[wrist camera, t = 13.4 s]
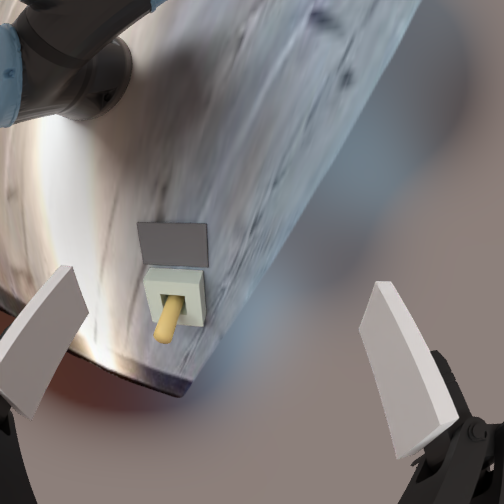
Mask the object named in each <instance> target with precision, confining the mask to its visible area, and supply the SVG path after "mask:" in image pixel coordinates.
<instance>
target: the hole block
mask: <svg viewBox="0 0 504 504" xmlns="http://www.w3.org/2000/svg"><path fill="white" fill-rule="evenodd" d="M143 282H144V287H145V291H146V296H147V300H148V304H149V308H150V312H151V316H152V320H153V322H157V323H158V321H159V319H160V316H161V313H162V311H163V308H164V306H165V303H166V301H167V298H168V296H169V295H180V296H185V301H184V302H183V305H182V308H181V311H180V314H179V318H178V321H177V325H188V326H200V327H203V326H204V321H205V316H206V303H205V291H204V278H203V270H185V269H167V268H151V267H150V269H149V270H148V272H147V274H146V276H145V277H144V279H143Z"/></svg>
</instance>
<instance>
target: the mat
mask: <svg viewBox="0 0 504 504" xmlns="http://www.w3.org/2000/svg"><path fill="white" fill-rule="evenodd" d="M137 228H138V234H139V240H140V246H141V252H142V258H143V263H144V264H157V265H175V266H194V267H208V251H207V228H206V224H199V223H154V222H137Z"/></svg>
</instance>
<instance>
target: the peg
mask: <svg viewBox="0 0 504 504" xmlns="http://www.w3.org/2000/svg"><path fill="white" fill-rule="evenodd" d="M184 299H185V296H180V295H169V296H168V298H167V301H166V303H165V306H164V308H163V311H162V313H161V316H160V319H159V321H158V324H157V326H156V329H155V332H154V335H153V336H154V338H155V340H157V341H158V342H160V343H163V344H168V343H170V342H171V340H172V337H173V334H174V330H175V327H176V324H177V321H178V318H179V314H180V311H181V308H182V305H183V302H184Z"/></svg>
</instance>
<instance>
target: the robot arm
mask: <svg viewBox="0 0 504 504" xmlns="http://www.w3.org/2000/svg"><path fill="white" fill-rule="evenodd" d="M19 1H21V2H23V3H25V4H27V5H28V6H27V7H26V8H25V9H24V10H23V12H22V13H21V14H20V15H19V16H18V18H17V19H16V20H15V21H14V23H13V24H9V23H4V24H2V25H0V128H1V127H4V128H7V127H10V126H12V125H13V124H17V123H20V122H24V121H27V120H31V119H36V118H40V117H44V116H49V115H54V114H58V115H60V116H63V117H66V118H69V119H72V120H87V119H92V118H96V117H98V116H101V115H103V114H104V113H106V112H107V111H109V110H110V109H111V108H112V107H113V106H114V105H115V104H116V103H117V102H118V101H119V99H120V98H121V97H122V95H123V93H124V92H125V90H126V88H127V85H128V83H129V80H130V76H131V70H132V59H131V54H130V51H129V48H128V46H127V45H126V43H125V42H124V41H123V40H122V39H121V38H119V37H118V36H119V35H120V34H121V33H122V32H124V31H125V30H126V29H127V28H129V27H130V26H131V25H133V24H134V23H135V22H137V21H138V20H140V19H141V18H142V17H144V16H145V15H147V14H148V13H152V12H154V11H155V10H156V7H158V6H159V5H161V4H162V3H164V2H165V1H167V0H19ZM88 314H89V311H88V309H87V306H86V304H85V301H84V298H83V296H82V293H81V290H80V288H79V285H78V282H77V279H76V276H75V273H74V270H73V267H72V266H60V267H59V268H58V269H57V270H56V271H55V272H54V273H53V275H52V276H51V277H50V278H49V279H48V280H47V281H46V282H45V284H44V285H43V286H42V287H41V288H40V289H39V291H38V292H37V293H36V294H35V295H34V297H33V298H32V299H31V300H30V302H29V303H28V304H27V305H26V307H25V308H24V309H23V310H22V312H21V313H20V314H19V315H18V317H17V318H16V319H15V321H14V322H13V323H12V324H10V325H9V326H8V327H7V328H6V329H5V330H4V331H3V333H2V334H1V336H0V504H37V501H36V499H35V496H34V494H33V491H32V488H31V485H30V482H29V479H28V476H27V473H26V470H25V466H24V463H23V459H22V455H21V452H20V447H19V443H18V438H17V433H16V429H15V423H14V417H13V414H12V412H11V411H10V408H11V406H12V407H13V408H14V409H15V410H16V411H17V412H18V413H19V414H20V415H22V416H23V417H25V418H27V419H29V420H31V421H32V418H33V416H34V414H35V412H36V409H37V407H38V405H39V403H40V401H41V399H42V397H43V394H44V392H45V390H46V388H47V386H48V384H49V382H50V380H51V378H52V376H53V375H54V373H55V371H56V369H57V367H58V365H59V363H60V361H61V359H62V358H63V356H64V354H65V352H66V350H67V349H68V347H69V345H70V343H71V342H72V340H73V338H74V337H75V335H76V333H77V332H78V330H79V328H80V327H81V325H82V323H83V322H84V320H85V318H86V317H87V315H88ZM359 332H360V335H361V338H362V341H363V344H364V346H365V350H366V353H367V355H368V359H369V362H370V365H371V368H372V371H373V374H374V377H375V381H376V384H377V387H378V390H379V394H380V397H381V401H382V404H383V408H384V411H385V415H386V418H387V422H388V426H389V430H390V434H391V438H392V441H393V446H394V450H395V454H396V458H397V459H401V458H404V457H408V456H411V455H414V454H416V453H417V452H419V451H420V450H421V449H423V448H424V451H425V454H424V455H422V456H421V457H419V458H418V459H416V460H415V461H414V462H413V463H412V464H411V466H414V465H416V464H417V463H419V464H418V466H417V467H416V471H415V472H414V475H413V476H412V478H411V481H410V482H409V484H408V486H407V488H406V490H405V492H404V494H403V495H402V497H401V499H400V501H399V502H398V504H504V422H503V423H502V424H486V423H485V421H484V420H482V419H481V418H479V417H473V416H472V415H471V413H470V411H469V408H468V406H467V404H466V402H465V399H464V397H463V394H462V392H461V390H460V388H459V385H458V383H457V382H456V381H455V380H456V379H455V377H454V375H453V373H451V369H450V367H449V365H448V363H447V361H446V359H445V358H444V357H443V356H442V355H441V354H440V353H439V352H438V351H437V350H435V351H429V349H428V347H427V345H426V343H425V341H424V339H423V337H422V335H421V333H420V331H419V330H418V328H417V326H416V324H415V322H414V321H413V319H412V317H411V315H410V313H409V311H408V310H407V308H406V306H405V304H404V303H403V301H402V299H401V297H400V296H399V294H398V292H397V291H396V289H395V287H394V286H393V284H392V282H380V281H379V282H377V281H376V282H375V285H374V288H373V291H372V294H371V296H370V299H369V302H368V305H367V308H366V310H365V313H364V316H363V318H362V321H361V324H360V326H359ZM493 463H494V470H492V471H490V465H492V464H493Z"/></svg>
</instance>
